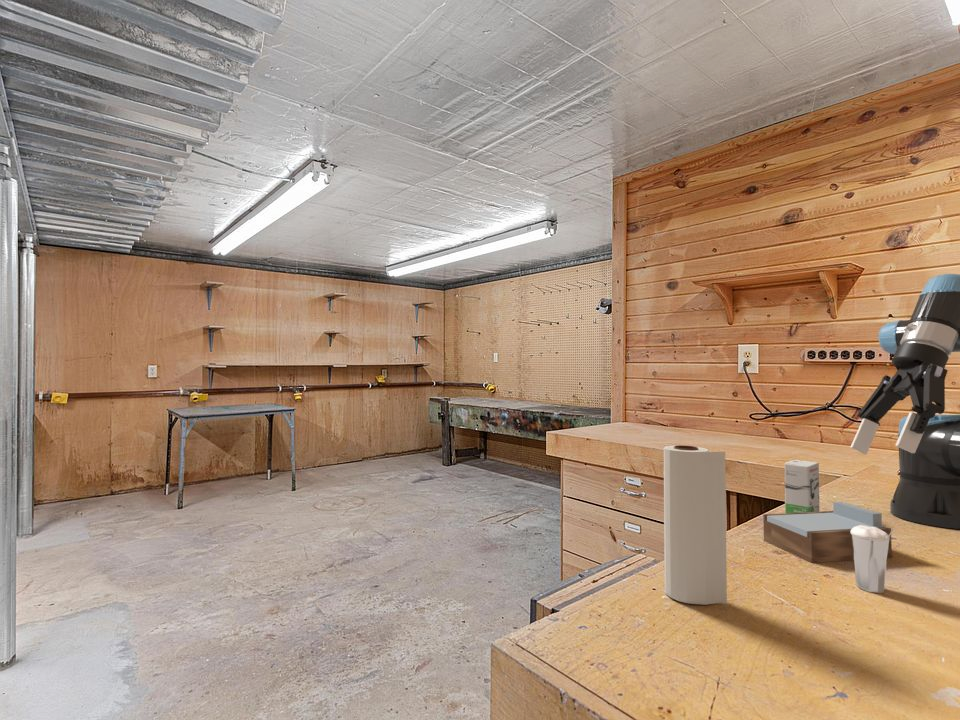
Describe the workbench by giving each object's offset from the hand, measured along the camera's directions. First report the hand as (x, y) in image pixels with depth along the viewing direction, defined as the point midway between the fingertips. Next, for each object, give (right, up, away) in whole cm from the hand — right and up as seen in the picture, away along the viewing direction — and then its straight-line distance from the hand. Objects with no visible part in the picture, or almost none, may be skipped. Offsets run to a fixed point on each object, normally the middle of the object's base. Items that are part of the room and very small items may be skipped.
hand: (879, 450), depth 90 cm
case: (-11, -18, -1) cm, 21 cm away
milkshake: (-16, -18, -18) cm, 30 cm away
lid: (-11, -14, -1) cm, 18 cm away
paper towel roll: (-44, -17, -21) cm, 52 cm away
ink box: (0, -19, +21) cm, 28 cm away
